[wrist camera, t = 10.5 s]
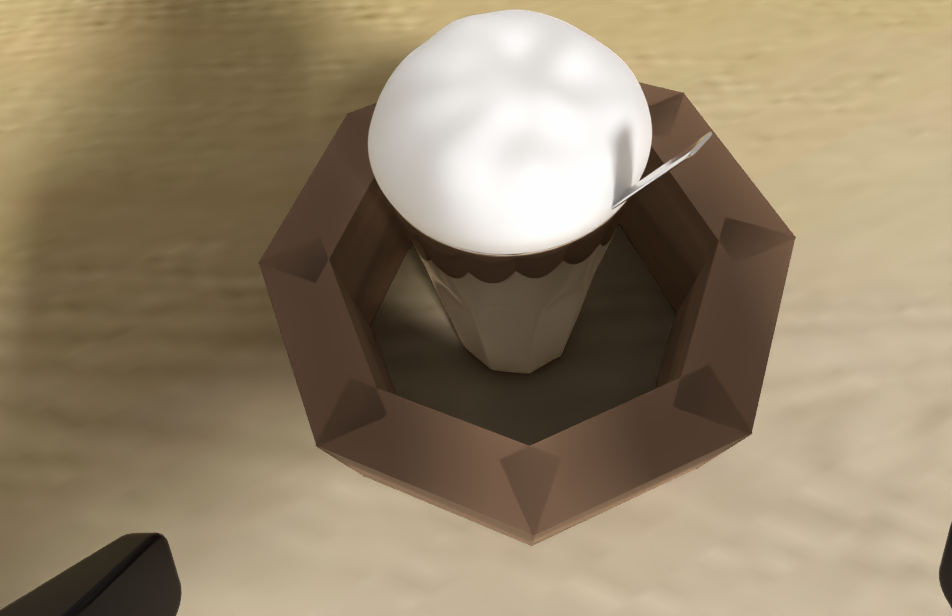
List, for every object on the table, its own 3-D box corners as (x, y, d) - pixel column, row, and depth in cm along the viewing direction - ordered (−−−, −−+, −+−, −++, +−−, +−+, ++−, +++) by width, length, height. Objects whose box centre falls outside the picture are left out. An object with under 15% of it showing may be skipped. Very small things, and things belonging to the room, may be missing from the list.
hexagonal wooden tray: (760, 217, 18) (820, 125, 14) (663, 601, 14) (712, 609, 10) (422, 125, 20) (399, 25, 17) (258, 432, 16) (181, 390, 13)
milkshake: (547, 454, 16) (577, 277, 6) (403, 327, 17) (266, 47, 8) (654, 331, 17) (808, 31, 8) (509, 223, 18) (492, -123, 9)
